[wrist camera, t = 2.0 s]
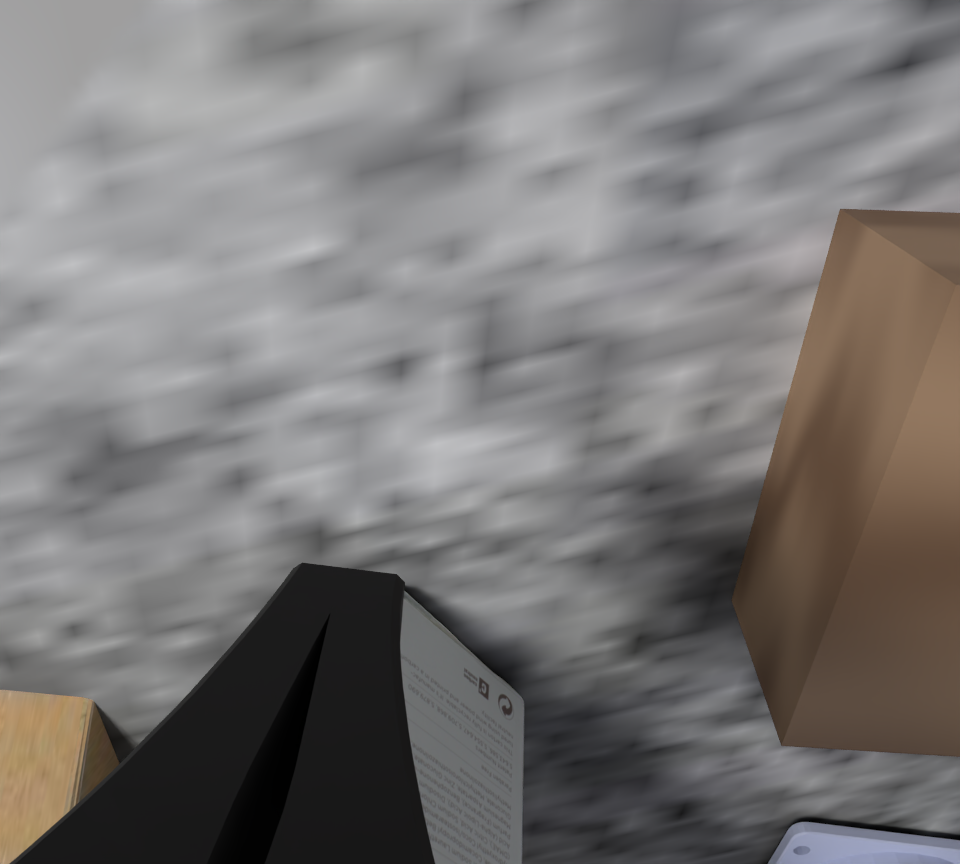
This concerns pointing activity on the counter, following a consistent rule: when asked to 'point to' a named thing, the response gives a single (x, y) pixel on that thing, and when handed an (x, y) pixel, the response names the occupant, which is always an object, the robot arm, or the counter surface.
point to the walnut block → (866, 502)
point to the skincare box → (462, 744)
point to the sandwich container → (46, 763)
